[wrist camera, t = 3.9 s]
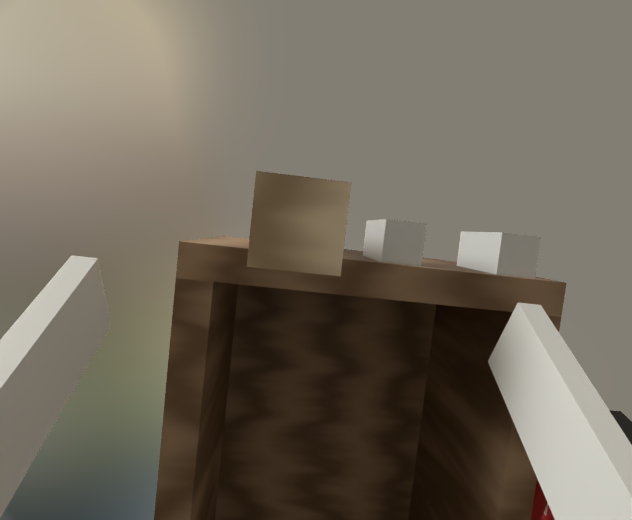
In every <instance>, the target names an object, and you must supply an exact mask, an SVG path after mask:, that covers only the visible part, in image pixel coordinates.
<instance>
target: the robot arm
mask: <svg viewBox="0 0 632 520" xmlns="http://www.w3.org/2000/svg"><path fill="white" fill-rule="evenodd" d="M110 326H111V324H110V318H109V313H108V308H107V303H106V298H105V292H104V287H103V282H102V277H101V272H100V267H99V261H98V258H90V257H81V256H71V257H70V258H69V259H68V260H67V262H66V263H65V264H64V265H63V266H62V268H61V269H60V270H59V271H58V272H57V273H56V275H55V276H54V277H53V278H52V279H51V281H50V282H49V283H48V284H47V285H46V287H45V288H44V289H43V290H42V291H41V292H40V294H39V295H38V296H37V297H36V298H35V299H34V301H33V302H32V303H31V304H30V305H29V307H28V308H27V309H26V310H25V311H24V312H23V314H22V315H21V316H20V317H19V318H18V320H17V321H16V322H15V323H14V324H13V326H12V327H11V328H10V329H9V330H8V331H7V333H6V334H5V335H4V336H3V337H2V339H1V340H0V518H1V516H2V514H3V512H4V511H5V509H6V507H7V506H8V504H9V502H10V500H11V498H12V497H13V495H14V493H15V491H16V490H17V488H18V486H19V484H20V483H21V481H22V479H23V478H24V476H25V474H26V472H27V471H28V469H29V467H30V465H31V464H32V462H33V460H34V458H35V457H36V455H37V453H38V451H39V450H40V448H41V446H42V444H43V443H44V441H45V439H46V438H47V436H48V434H49V432H50V431H51V429H52V427H53V425H54V424H55V422H56V420H57V418H58V417H59V415H60V413H61V411H62V410H63V408H64V406H65V404H66V403H67V401H68V399H69V398H70V396H71V394H72V392H73V390H74V389H75V387H76V385H77V384H78V382H79V380H80V378H81V377H82V375H83V373H84V371H85V370H86V368H87V366H88V364H89V363H90V361H91V359H92V357H93V356H94V354H95V352H96V350H97V349H98V347H99V345H100V343H101V342H102V340H103V338H104V336H105V335H106V333H107V331H108V329H109V328H110ZM488 363H489V366H490V368H491V370H492V373H493V375H494V377H495V380H496V382H497V384H498V387H499V389H500V391H501V394H502V396H503V399H504V401H505V403H506V406H507V408H508V410H509V413H510V415H511V417H512V420H513V422H514V425H515V427H516V429H517V432H518V434H519V436H520V439H521V441H522V443H523V446H524V448H525V450H526V453H527V455H528V458H529V460H530V462H531V465H532V467H533V469H534V472H535V474H536V476H537V479H538V481H539V483H540V486H541V488H542V491H543V493H544V495H545V498H546V500H547V502H548V505H549V507H550V509H551V512H552V514H553V517H554V519H555V520H632V422H631V421H630V420H629V419H628V418H627V417H626V416H625V415H624V414H623V413H622V412H621V411H609V409H608V408H607V406H606V405H605V403H604V402H603V400H602V398H601V397H600V395H599V394H598V392H597V391H596V389H595V388H594V386H593V385H592V383H591V382H590V380H589V378H588V377H587V375H586V374H585V372H584V371H583V369H582V368H581V366H580V365H579V363H578V362H577V360H576V358H575V357H574V355H573V354H572V352H571V351H570V349H569V348H568V346H567V345H566V343H565V341H564V340H563V338H562V337H561V335H560V334H559V332H558V331H557V329H556V328H555V326H554V325H553V323H552V321H551V320H550V318H549V317H548V315H547V314H546V312H545V311H544V309H543V308H542V306H541V305H537V304H527V303H517V305H516V307H515V309H514V311H513V313H512V315H511V317H510V319H509V321H508V323H507V325H506V327H505V329H504V331H503V333H502V334H501V336H500V338H499V340H498V342H497V344H496V346H495V348H494V350H493V352H492V354H491V356H490V358H489V360H488Z"/></svg>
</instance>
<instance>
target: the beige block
mask: <svg viewBox="0 0 632 520" xmlns="http://www.w3.org/2000/svg"><path fill="white" fill-rule="evenodd" d="M350 190H351V183H350V182H343V181H335V180H326V179H318V178H310V177H302V176H294V175H285V174H277V173H269V172H261V171H256V179H255V189H254V200H253V209H252V219H251V228H250V238H249V248H248V258H247V267H255V268H265V269H274V270H284V271H294V272H303V273H313V274H322V275H332V276H341V268H342V259H343V251H344V242H345V234H346V225H347V216H348V208H349V199H350Z"/></svg>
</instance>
